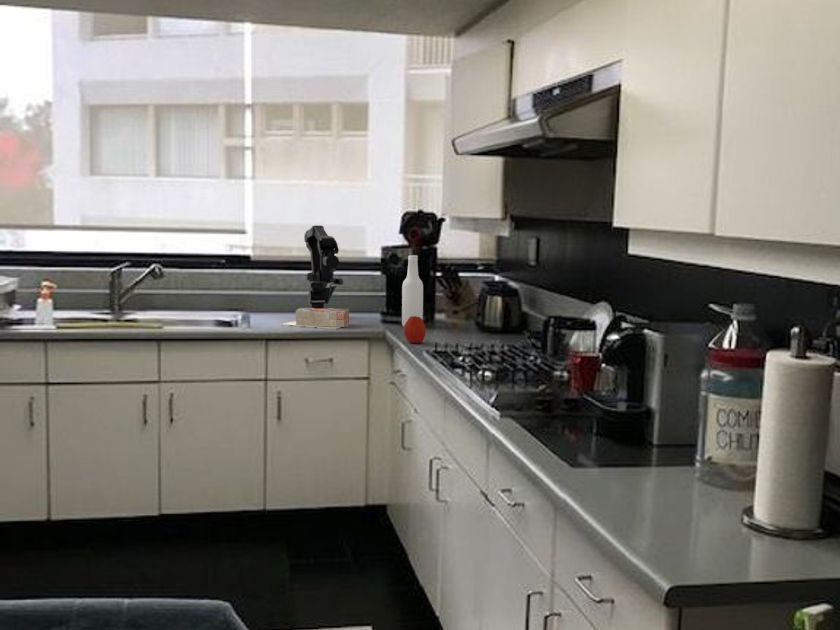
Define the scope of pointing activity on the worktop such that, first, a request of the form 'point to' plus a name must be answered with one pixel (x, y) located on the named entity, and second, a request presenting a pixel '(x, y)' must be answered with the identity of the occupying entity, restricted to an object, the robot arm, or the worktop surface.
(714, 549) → the worktop surface
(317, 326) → the mat
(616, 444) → the worktop surface
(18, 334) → the worktop surface
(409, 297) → the alcohol
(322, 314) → the stack of blocks
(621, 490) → the worktop surface
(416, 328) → the red oval lump
